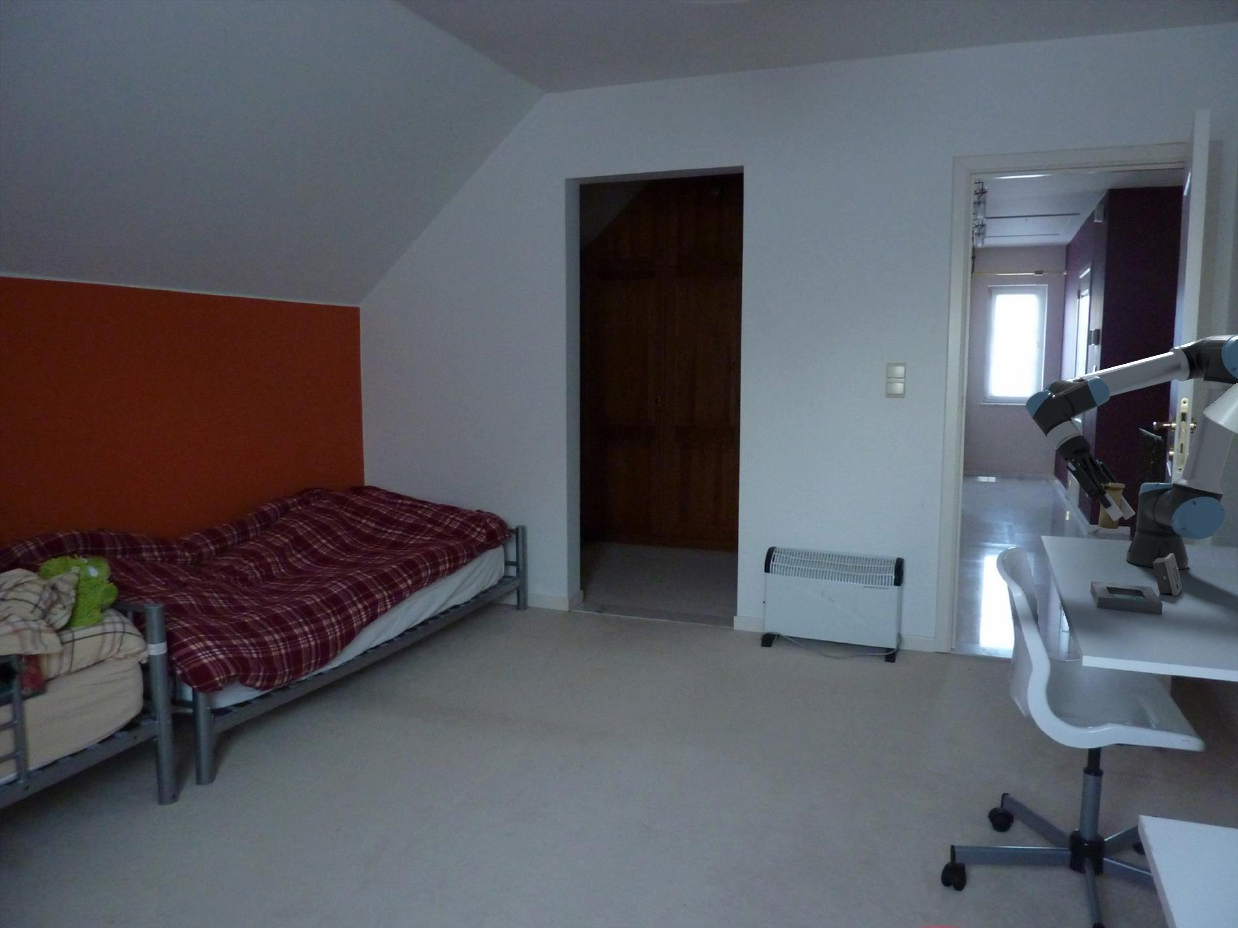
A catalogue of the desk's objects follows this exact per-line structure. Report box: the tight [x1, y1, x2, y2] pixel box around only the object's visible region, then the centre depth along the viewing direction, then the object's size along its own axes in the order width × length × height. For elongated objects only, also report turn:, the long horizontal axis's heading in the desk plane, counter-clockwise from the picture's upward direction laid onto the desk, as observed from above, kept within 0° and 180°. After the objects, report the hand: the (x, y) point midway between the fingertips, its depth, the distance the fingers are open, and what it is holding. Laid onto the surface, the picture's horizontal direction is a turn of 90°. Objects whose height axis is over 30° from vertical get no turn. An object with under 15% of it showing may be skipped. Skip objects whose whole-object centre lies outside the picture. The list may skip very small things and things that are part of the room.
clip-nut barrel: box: [1097, 482, 1126, 530], centre depth 229 cm, size 5×5×11 cm
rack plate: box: [1089, 580, 1164, 616], centre depth 217 cm, size 16×13×3 cm
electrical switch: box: [1152, 553, 1183, 597], centre depth 228 cm, size 9×5×9 cm, turn 141°
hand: (1124, 517), depth 226 cm, fingers closed on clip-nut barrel, 4 cm apart
